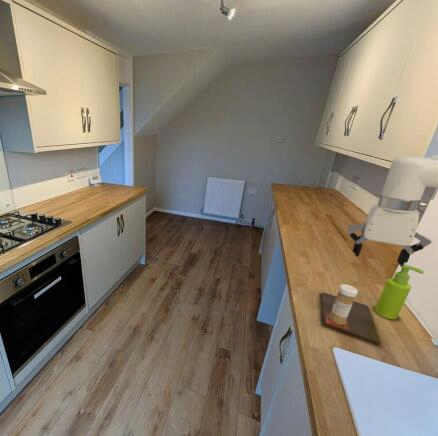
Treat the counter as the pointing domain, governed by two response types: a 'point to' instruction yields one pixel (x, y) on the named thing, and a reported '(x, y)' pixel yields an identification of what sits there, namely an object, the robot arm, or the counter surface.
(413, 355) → the counter surface
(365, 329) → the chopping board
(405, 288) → the soap dispenser
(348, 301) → the sprinkles bottle
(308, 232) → the counter surface
